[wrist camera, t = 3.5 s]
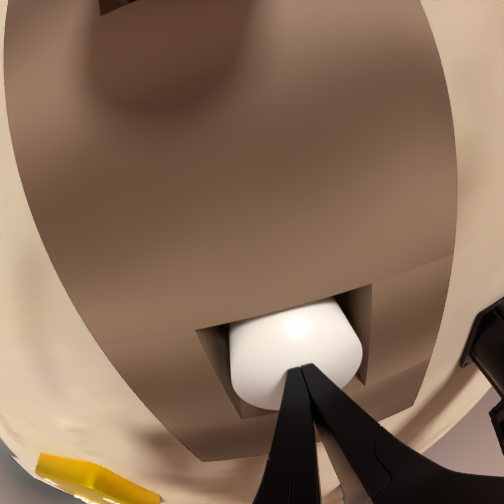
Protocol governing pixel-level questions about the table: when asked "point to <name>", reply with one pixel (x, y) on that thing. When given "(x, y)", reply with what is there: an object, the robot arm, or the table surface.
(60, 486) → the element tile
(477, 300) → the table surface
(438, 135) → the pin block
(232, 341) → the pin
